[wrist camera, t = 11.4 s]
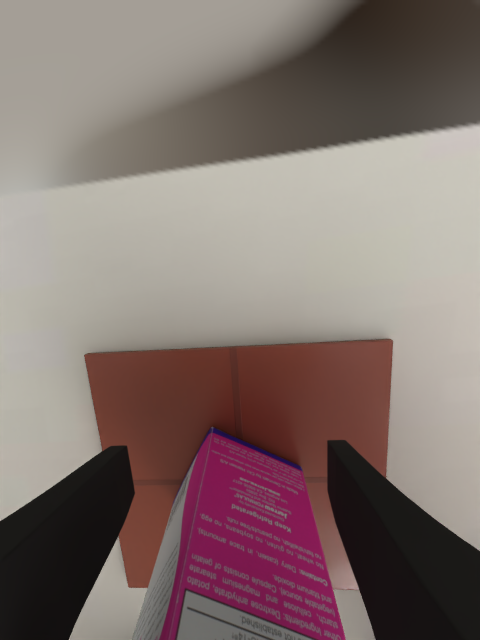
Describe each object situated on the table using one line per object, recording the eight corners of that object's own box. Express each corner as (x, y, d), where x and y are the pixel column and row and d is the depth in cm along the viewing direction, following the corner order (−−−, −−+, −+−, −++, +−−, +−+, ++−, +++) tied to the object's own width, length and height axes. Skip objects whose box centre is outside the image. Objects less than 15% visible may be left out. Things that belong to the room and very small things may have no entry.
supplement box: (262, 539, 17) (276, 1107, 6) (172, 500, 16) (-5, 1013, 5) (307, 465, 15) (446, 1003, 4) (211, 421, 15) (90, 874, 4)
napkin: (378, 584, 17) (380, 590, 17) (130, 582, 18) (128, 588, 18) (390, 338, 14) (393, 340, 14) (87, 353, 15) (83, 355, 15)
